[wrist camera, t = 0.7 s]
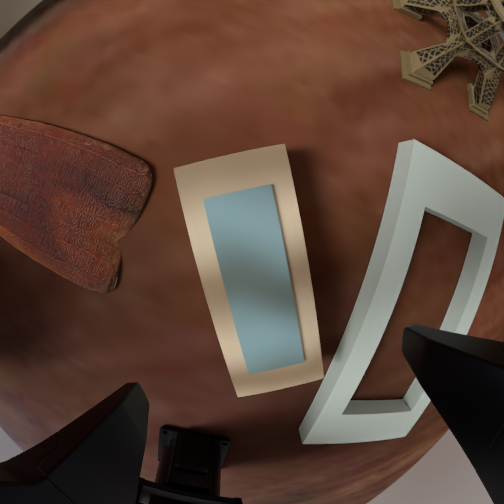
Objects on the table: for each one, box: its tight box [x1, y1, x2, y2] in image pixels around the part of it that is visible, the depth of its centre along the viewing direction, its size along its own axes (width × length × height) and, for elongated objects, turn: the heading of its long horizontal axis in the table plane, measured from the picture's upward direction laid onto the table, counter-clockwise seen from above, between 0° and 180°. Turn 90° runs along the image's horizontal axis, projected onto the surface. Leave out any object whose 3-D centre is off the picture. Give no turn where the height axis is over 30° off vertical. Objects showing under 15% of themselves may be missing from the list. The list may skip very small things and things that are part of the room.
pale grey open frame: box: [298, 139, 504, 444], centre depth 19 cm, size 25×12×2 cm, turn 166°
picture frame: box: [174, 144, 324, 397], centre depth 17 cm, size 15×6×3 cm, turn 12°
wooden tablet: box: [0, 115, 153, 293], centre depth 15 cm, size 27×10×2 cm, turn 66°
